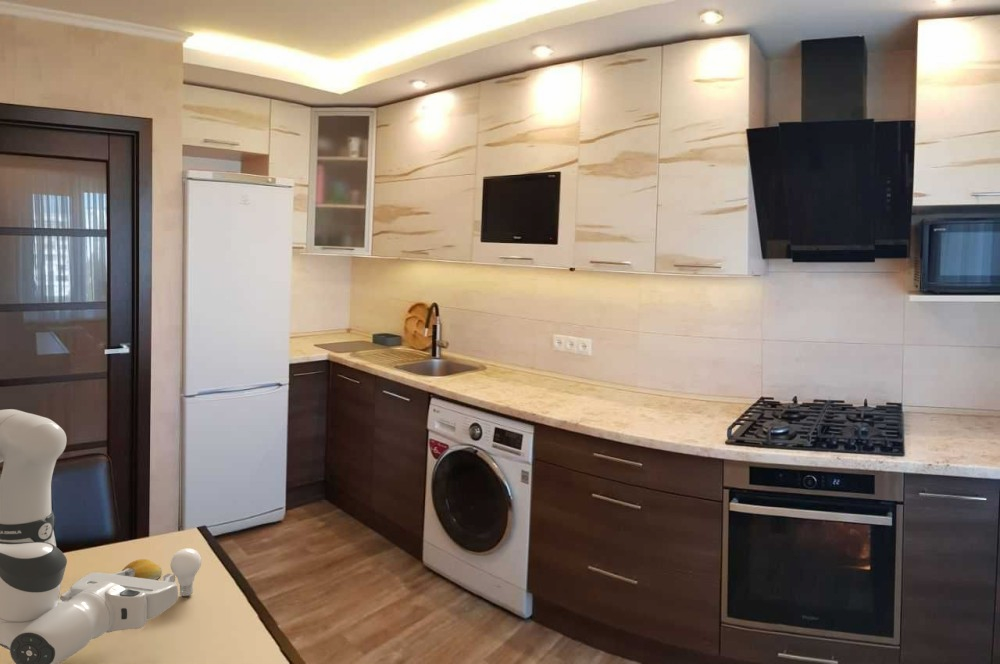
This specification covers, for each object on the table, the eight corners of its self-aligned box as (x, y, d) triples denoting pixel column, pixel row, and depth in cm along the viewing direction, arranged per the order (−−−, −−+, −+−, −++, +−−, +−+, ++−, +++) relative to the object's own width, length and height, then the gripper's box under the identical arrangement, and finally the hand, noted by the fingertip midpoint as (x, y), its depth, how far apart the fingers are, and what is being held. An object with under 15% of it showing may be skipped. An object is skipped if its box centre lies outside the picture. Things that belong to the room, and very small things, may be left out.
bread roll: (133, 590, 159) (132, 574, 158) (116, 578, 164) (115, 562, 164) (169, 578, 165) (168, 562, 165) (151, 567, 171) (151, 551, 170)
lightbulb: (164, 598, 155) (164, 551, 154) (189, 586, 161) (188, 541, 160) (183, 605, 152) (183, 557, 151) (207, 593, 158) (207, 547, 157)
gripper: (54, 615, 132) (108, 583, 146) (148, 629, 128) (195, 595, 142) (53, 584, 131) (107, 554, 145) (148, 597, 128) (194, 565, 141)
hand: (151, 574), depth 143 cm, fingers open, 8 cm apart
